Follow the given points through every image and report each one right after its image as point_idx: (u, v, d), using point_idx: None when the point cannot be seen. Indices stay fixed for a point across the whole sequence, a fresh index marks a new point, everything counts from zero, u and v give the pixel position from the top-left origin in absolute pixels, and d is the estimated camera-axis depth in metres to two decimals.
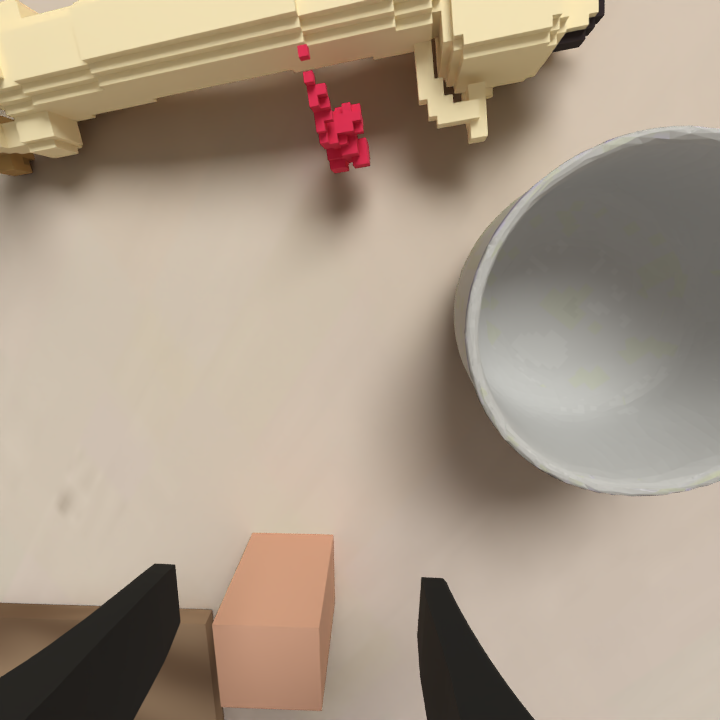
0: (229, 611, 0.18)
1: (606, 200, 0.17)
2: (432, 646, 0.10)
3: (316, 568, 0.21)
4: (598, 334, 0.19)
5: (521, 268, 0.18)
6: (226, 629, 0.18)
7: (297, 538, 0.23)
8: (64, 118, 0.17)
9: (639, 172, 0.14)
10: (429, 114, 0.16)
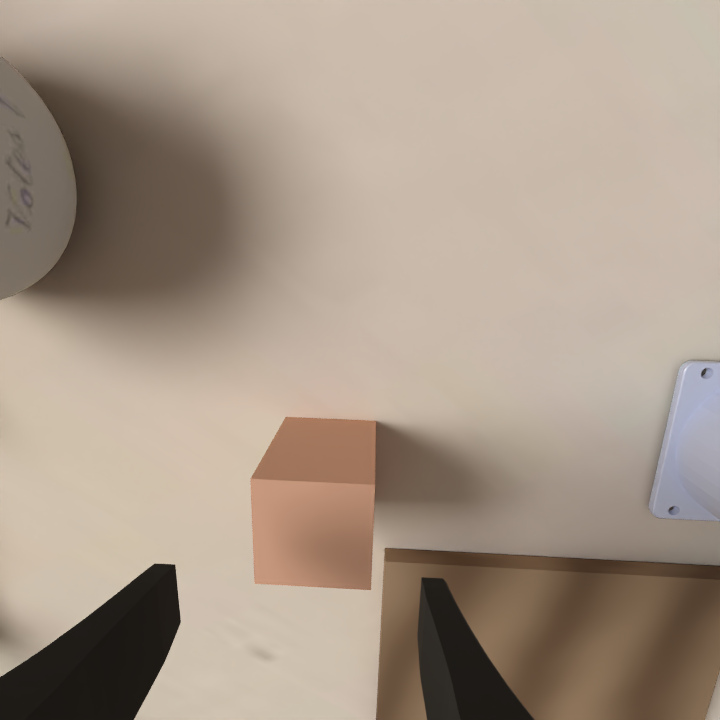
0: None
1: None
2: (432, 646, 0.10)
3: None
4: None
5: None
6: (261, 570, 0.16)
7: None
8: None
9: None
10: None
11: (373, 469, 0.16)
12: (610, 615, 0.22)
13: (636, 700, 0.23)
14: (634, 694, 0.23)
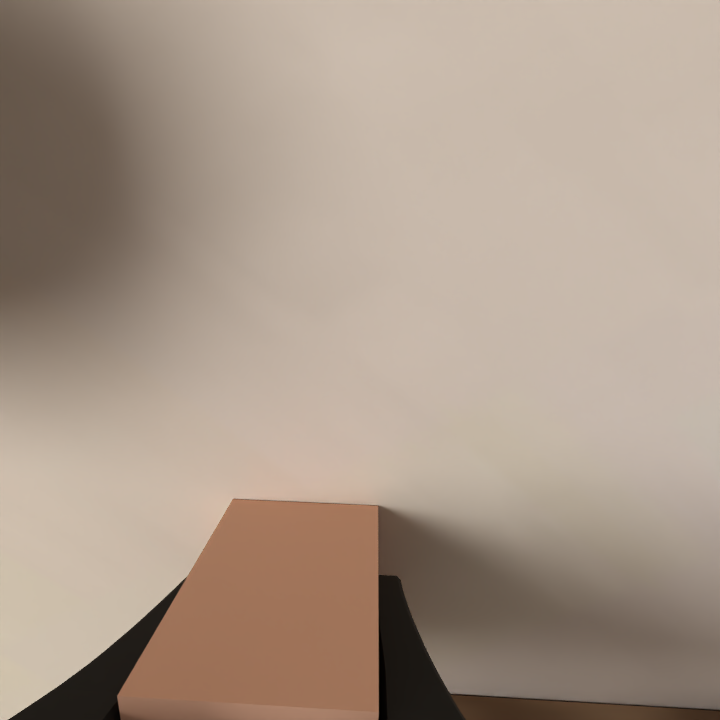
0: None
1: None
2: None
3: None
4: None
5: None
6: None
7: None
8: None
9: None
10: None
11: (375, 652, 0.08)
12: None
13: None
14: None
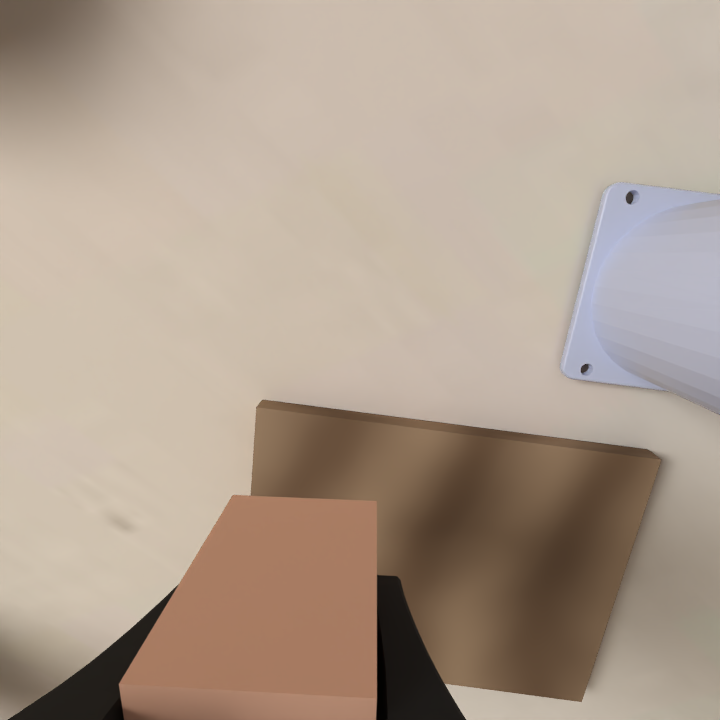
0: None
1: None
2: (378, 643, 0.10)
3: None
4: None
5: None
6: None
7: None
8: None
9: None
10: None
11: (373, 641, 0.08)
12: (508, 492, 0.19)
13: (533, 598, 0.21)
14: (531, 590, 0.20)
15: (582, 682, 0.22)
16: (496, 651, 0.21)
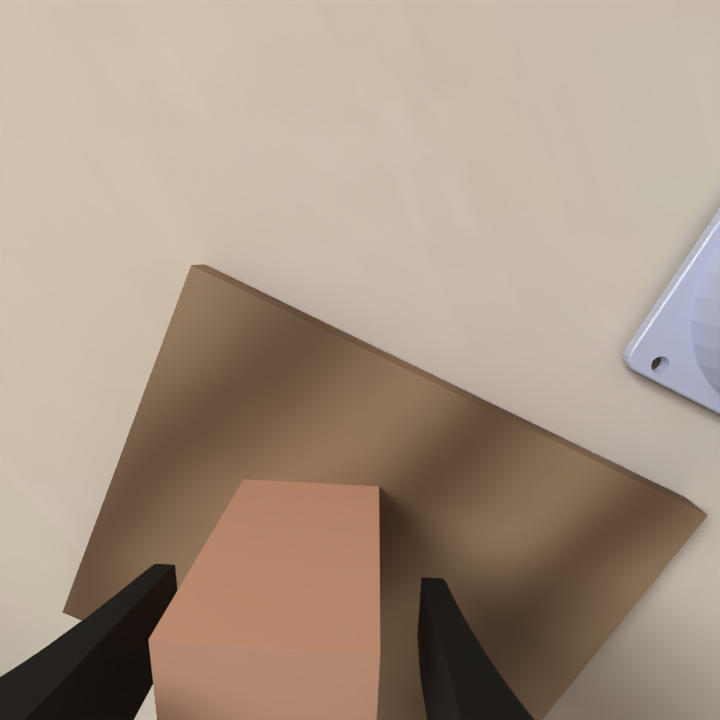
0: None
1: None
2: (432, 646, 0.10)
3: None
4: None
5: None
6: None
7: None
8: None
9: None
10: None
11: (376, 607, 0.09)
12: (498, 498, 0.14)
13: None
14: (478, 634, 0.15)
15: None
16: (405, 698, 0.16)
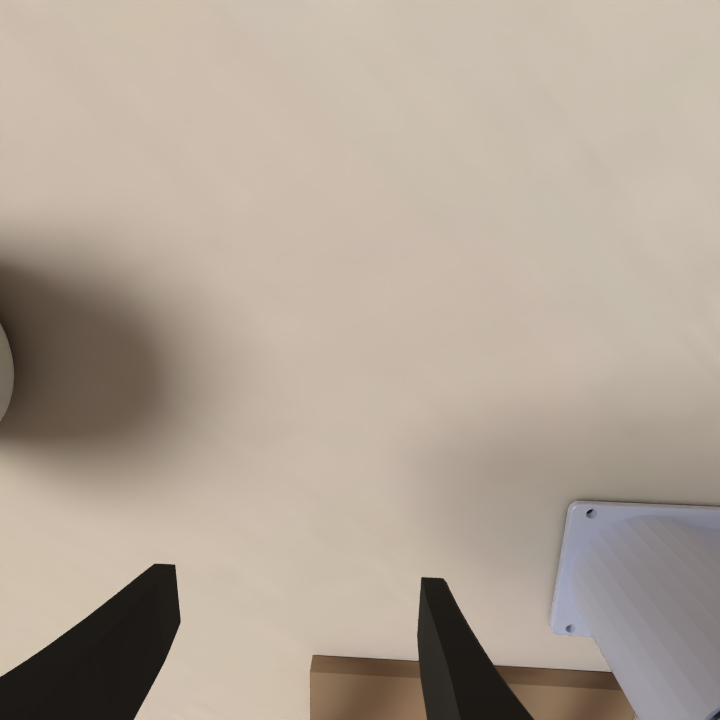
0: None
1: None
2: (432, 646, 0.10)
3: None
4: None
5: None
6: None
7: None
8: None
9: None
10: None
11: None
12: None
13: None
14: None
15: None
16: None
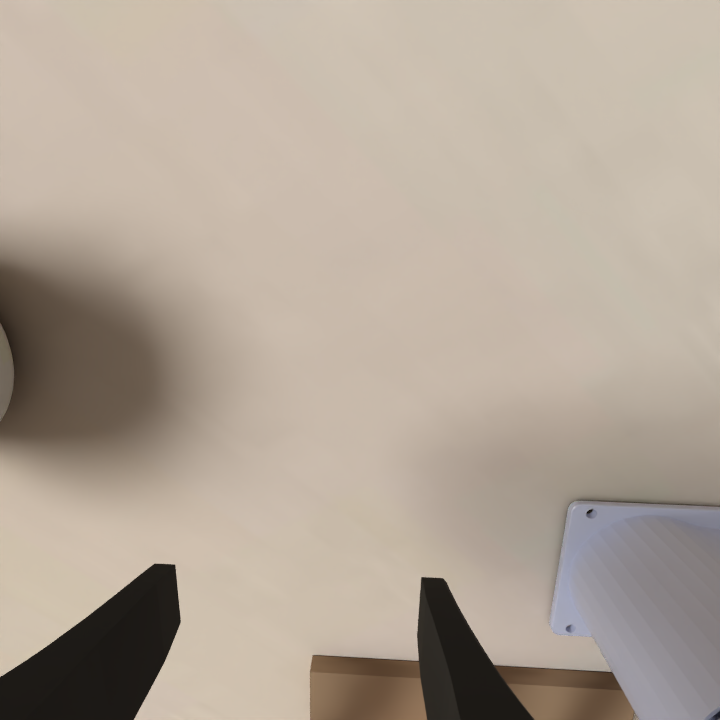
0: None
1: None
2: (432, 646, 0.10)
3: None
4: None
5: None
6: None
7: None
8: None
9: None
10: None
11: None
12: None
13: None
14: None
15: None
16: None
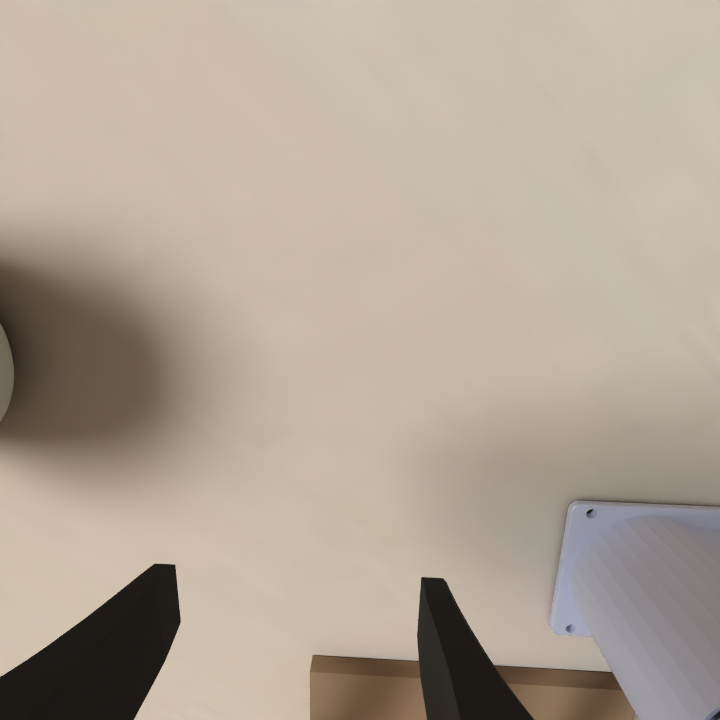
0: None
1: None
2: (432, 646, 0.10)
3: None
4: None
5: None
6: None
7: None
8: None
9: None
10: None
11: None
12: None
13: None
14: None
15: None
16: None
